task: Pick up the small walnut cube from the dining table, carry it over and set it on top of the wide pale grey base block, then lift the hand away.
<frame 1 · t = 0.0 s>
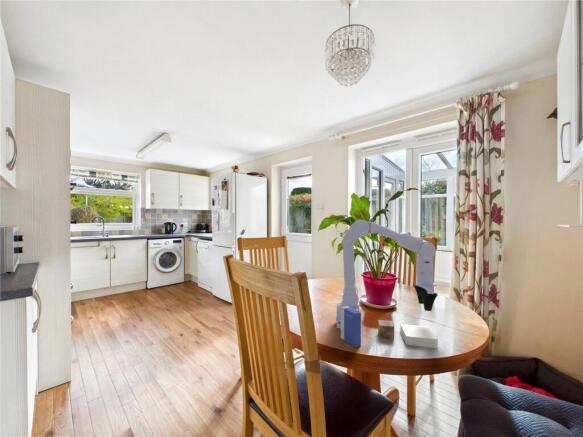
hand: (424, 307, 95), 10 cm above the table, tool pointing down, fingers open, 7 cm apart
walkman: (350, 342, 88), on the table
base block: (417, 339, 90), on the table
walnut cube: (385, 336, 92), on the table
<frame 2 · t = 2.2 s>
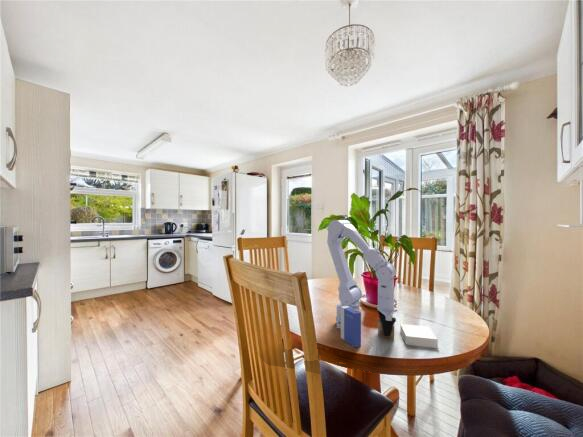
hand: (385, 332, 92), 1 cm above the table, tool pointing down, fingers closed on walnut cube, 5 cm apart
walnut cube: (385, 336, 92), on the table, touching gripper
everything else where it was.
when the fingers open (5 cm above the table, at t = 5.4 s): walnut cube stays where it is, resting on base block.
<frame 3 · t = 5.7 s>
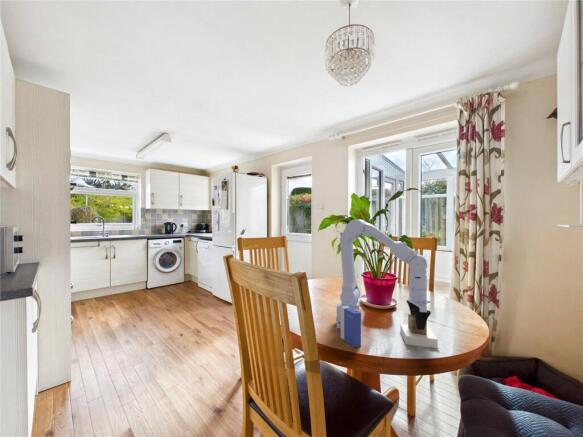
hand: (417, 324, 90), 5 cm above the table, tool pointing down, fingers open, 7 cm apart
walnut cube: (417, 331, 90), point 3 cm above the table, touching base block
everything else where it was.
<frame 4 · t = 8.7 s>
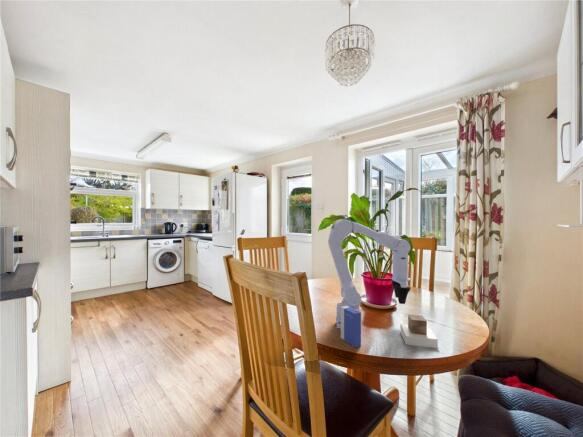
hand: (400, 300, 101), 10 cm above the table, tool pointing down, fingers open, 7 cm apart
nothing on the table moved.
at the end: walnut cube 0.2 cm off-centre on the base block, point 3.0 cm above the base block's base; walnut cube tilted 0°; the gripper is holding nothing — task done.
